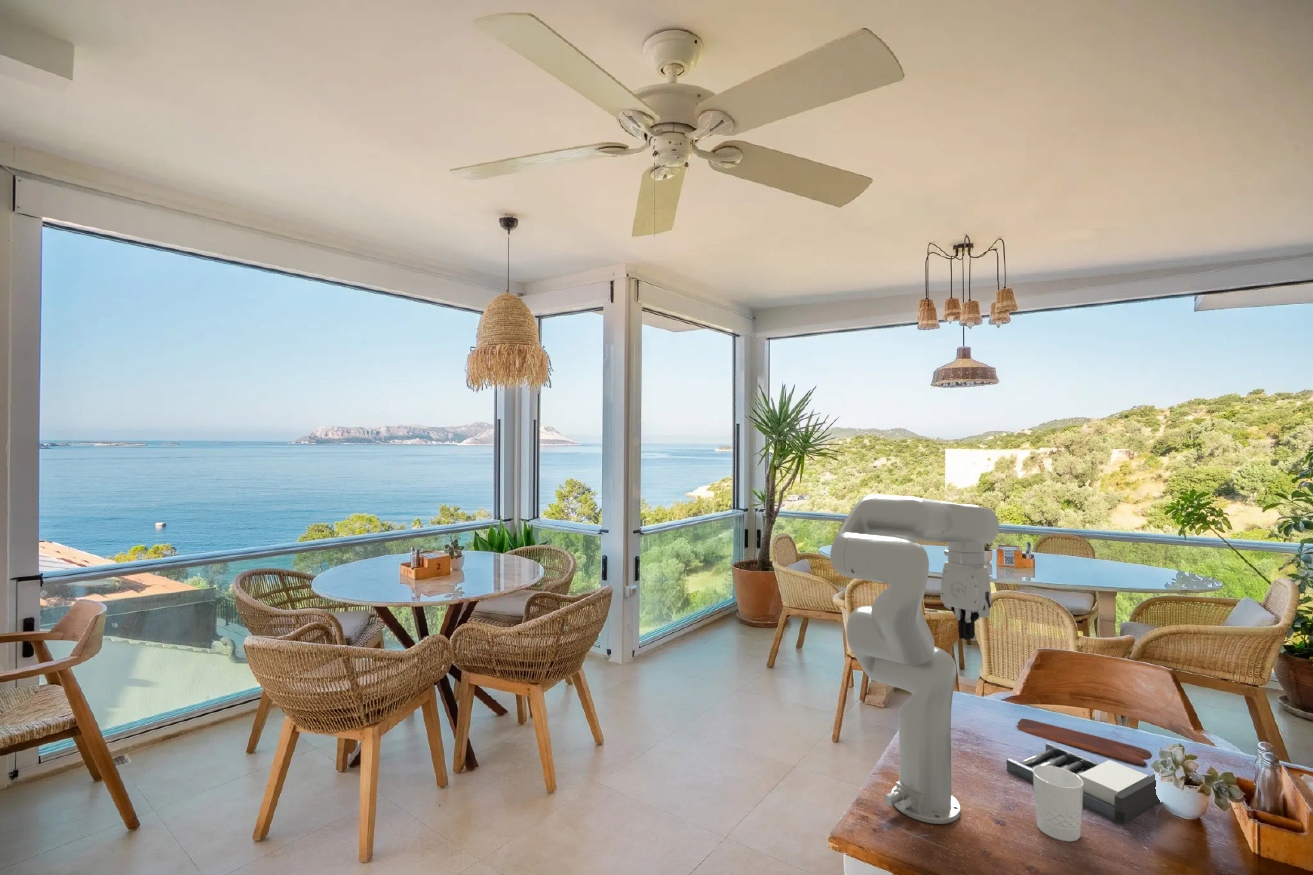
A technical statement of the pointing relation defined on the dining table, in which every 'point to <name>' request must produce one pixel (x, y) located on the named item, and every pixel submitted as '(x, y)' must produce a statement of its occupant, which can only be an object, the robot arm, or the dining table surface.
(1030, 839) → the dining table surface
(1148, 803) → the roller track
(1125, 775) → the slab
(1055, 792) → the white cup
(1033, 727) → the wooden tablet
